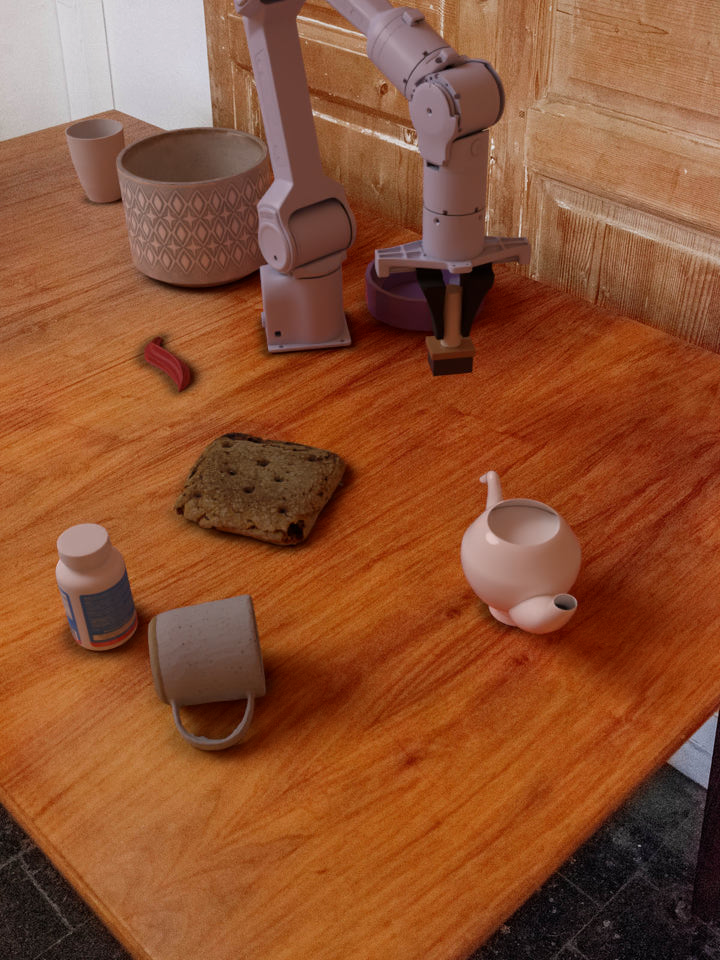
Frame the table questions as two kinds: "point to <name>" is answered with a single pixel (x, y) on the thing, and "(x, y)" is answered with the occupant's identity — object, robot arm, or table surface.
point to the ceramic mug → (207, 660)
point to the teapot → (522, 561)
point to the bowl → (402, 298)
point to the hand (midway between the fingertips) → (450, 333)
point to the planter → (194, 204)
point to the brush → (451, 339)
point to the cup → (97, 156)
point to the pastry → (260, 487)
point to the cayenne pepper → (167, 363)
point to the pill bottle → (95, 588)
